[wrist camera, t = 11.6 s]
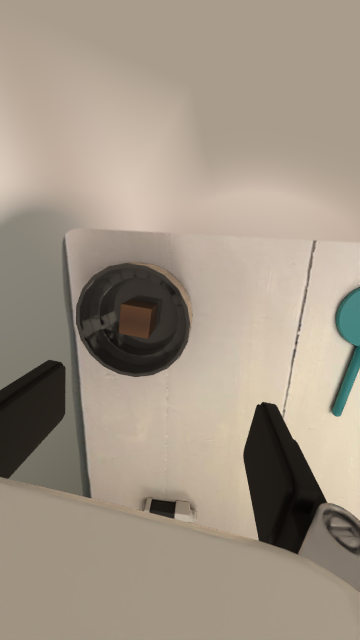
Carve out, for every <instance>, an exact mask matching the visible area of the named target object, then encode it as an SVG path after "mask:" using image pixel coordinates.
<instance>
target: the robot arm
mask: <svg viewBox="0 0 360 640" xmlns="http://www.w3.org/2000/svg"><path fill="white" fill-rule="evenodd" d="M64 415H65V366H63V364H62V363H61V362H57V361H52V360H48V361H46V362H45V363H43V364H41V365H40V366H38V367H37V368H35V369H33V370H32V371H30V372H29V373H27V374H25V375H24V376H22V377H21V378H19V379H17V380H16V381H14V382H13V383H11V384H9V385H8V386H6V387H5V388H3V389H1V390H0V640H360V521H359V520H358V519H357V518H356V517H355V516H354V515H352V514H351V513H350V512H348V511H347V510H345V509H344V508H342V507H340V506H338V505H335V504H331V503H327V501H326V499H325V497H324V495H323V493H322V491H321V489H320V487H319V485H318V483H317V481H316V479H315V477H314V475H313V473H312V471H311V469H310V467H309V465H308V463H307V461H306V459H305V457H304V455H303V453H302V451H301V449H300V447H299V445H298V443H297V442H296V441H295V440H294V439H293V438H292V436H291V434H290V432H289V430H288V428H287V426H286V424H285V422H284V420H283V418H282V416H281V414H280V412H279V410H278V407H277V406H276V405H275V404H271V403H266V402H262V403H261V405H259V404H258V405H257V407H256V410H255V413H254V417H253V420H252V424H251V427H250V431H249V434H248V438H247V441H246V445H245V448H244V454H243V457H244V464H245V469H246V474H247V480H248V485H249V490H250V495H251V501H252V506H253V511H254V517H255V522H256V527H257V532H258V538H259V541H257V540H254V539H250V538H246V537H242V536H239V535H235V534H231V533H228V532H224V531H220V530H216V529H213V528H209V527H205V526H201V525H197V524H193V523H189V522H185V521H180V520H176V519H172V518H168V517H164V516H160V515H156V514H152V513H148V512H144V511H140V510H136V509H132V508H128V507H124V506H120V505H115V504H111V503H107V502H103V501H99V500H95V499H91V498H86V497H82V496H78V495H74V494H70V493H66V492H62V491H57V490H53V489H49V488H44V487H40V486H36V485H32V484H27V483H23V482H19V481H14V480H10V479H8V478H9V477H10V476H11V475H12V474H13V473H14V472H15V470H17V468H18V467H19V466H20V465H21V464H22V463H23V462H24V461H25V460H26V459H27V457H28V456H29V455H30V454H31V453H32V452H33V451H34V450H35V449H36V448H37V447H38V445H39V444H40V443H41V442H42V441H43V440H44V439H45V438H46V437H47V436H48V434H49V433H50V432H51V431H52V430H53V429H54V428H55V427H56V426H57V425H58V423H59V422H60V421H61V420H62V419H63V417H64Z"/></svg>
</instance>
